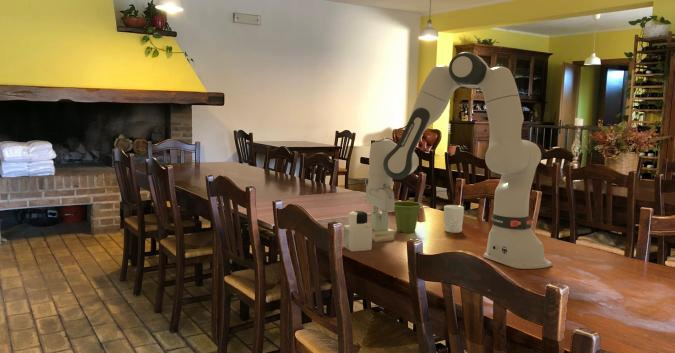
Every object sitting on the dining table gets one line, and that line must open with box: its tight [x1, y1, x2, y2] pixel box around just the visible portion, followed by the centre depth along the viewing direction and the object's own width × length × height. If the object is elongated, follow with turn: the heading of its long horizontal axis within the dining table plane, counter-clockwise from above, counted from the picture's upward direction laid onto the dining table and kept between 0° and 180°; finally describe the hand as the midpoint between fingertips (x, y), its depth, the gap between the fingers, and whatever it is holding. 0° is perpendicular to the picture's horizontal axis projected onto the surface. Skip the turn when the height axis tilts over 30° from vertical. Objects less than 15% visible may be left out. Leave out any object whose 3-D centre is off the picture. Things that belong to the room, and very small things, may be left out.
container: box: [343, 210, 373, 252], centre depth 187 cm, size 8×8×13 cm
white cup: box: [443, 204, 465, 234], centre depth 216 cm, size 8×8×10 cm
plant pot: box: [393, 200, 423, 234], centre depth 214 cm, size 12×12×11 cm
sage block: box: [370, 211, 389, 231], centre depth 201 cm, size 5×5×6 cm
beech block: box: [369, 226, 395, 243], centre depth 202 cm, size 8×8×4 cm
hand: (379, 218), depth 201 cm, fingers open, 6 cm apart
